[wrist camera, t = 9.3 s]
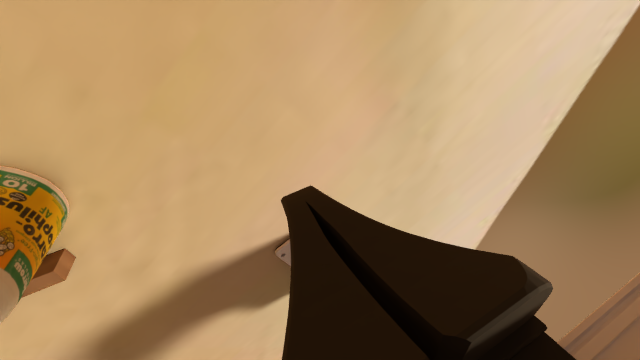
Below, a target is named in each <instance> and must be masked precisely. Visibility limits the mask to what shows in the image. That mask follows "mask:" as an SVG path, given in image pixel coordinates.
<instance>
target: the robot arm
mask: <svg viewBox="0 0 640 360" xmlns="http://www.w3.org/2000/svg"><path fill="white" fill-rule="evenodd" d="M281 202H282V205H283V208H284V211H285V214H286V216H287V220H288V227H289V235H290V239H289V240H288V241H286V242H285V243H284V244H283V245H281V246H280V247H279V248H277V249H276V251H275V254H276V256H277V257H279V258H280V259H281V260H283V261H284V262H285V263H287V264H288V265H289V266H291V283H290V298H289V310H288V319H287V327H286V334H285V342H284V349H283V356H282V360H640V272H639V273H638V274H637V275H636V276H635V277H633V279H631V280H630V281H629V282H627V283H626V284H625V285H624V286H623V287H622V288H621V289H619V290H618V291H617V292H616V293H615V294H614V295H613V296H611V297H610V298H609V299H608V300H607V301H605V302H604V303H603V304H602V305H601V306H599V307H598V308H597V309H596V310H595V311H593V312H592V313H591V314H590V315H589V316H587V317H586V318H585V319H584V320H583V321H582V322H580V323H579V324H578V325H577V326H576V327H574V328H573V329H572V330H571V331H570V332H568V333H567V334H566V335H565V336H564V337H563V338H561V339H560V340H559V341H558V342H555V341H554V340H553V339H552V338H551V337H549V336H548V335H547V334H546V333H545V332H544V331H546V329H547V327H546V325H545V324H544V323H543V322H541V321H540V320H539V319H538V318H537V317H535V316H534V315H535V313H536V312H537V311H538V310H539V308H540V307H541V306H542V304H543V303H544V302H545V301H546V299H547V298H548V297H549V295H550V294H551V292H552V289H553V287H552V284H551V282H549V281H548V280H546V279H545V278H543V277H542V276H541V275H539V274H538V273H537V272H535V271H534V270H532V269H531V268H530V267H528V266H527V265H525V264H524V263H522V262H521V261H519V260H518V259H516V258H515V257H513V256H509V255H503V254H497V253H491V252H485V251H479V250H474V249H468V248H464V247H459V246H455V245H450V244H446V243H442V242H438V241H434V240H431V239H427V238H424V237H420V236H417V235H413V234H410V233H407V232H404V231H401V230H398V229H395V228H393V227H390V226H387V225H385V224H382V223H380V222H377V221H375V220H373V219H371V218H368V217H366V216H364V215H362V214H360V213H358V212H356V211H354V210H352V209H350V208H348V207H346V206H345V205H343V204H341V203H339V202H337V201H336V200H334V199H332V198H330V197H329V196H327V195H326V194H324V193H322V192H321V191H319V190H318V189H316V188H315V187H313V186H308V187H306V188H304V189H301V190H299V191H296V192H294V193H292V194H289V195H287V196H285V197H283V198H282V200H281Z"/></svg>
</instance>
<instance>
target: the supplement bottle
mask: <svg viewBox="0 0 640 360" xmlns="http://www.w3.org/2000/svg"><path fill="white" fill-rule="evenodd" d="M69 211H70V208H69V203H68V201H67V198H66V197H65V195H64V194H63V193H62V191H61V190H60V189H59V188H58V187H56V186H55V185H54V184H52V183H51V182H50V181H48V180H46V179H44V178H42V177H40V176H37V175H35V174H32V173H29V172H27V171H24V170H20V169H17V168H12V167H6V166H0V324H1V323H2V322H3V321H4V320H5V319H6V318H7V317H8V316H9V314H10V313H11V312H12V310H13V309H14V308H15V306H16V305H17V304H18V302H19V300H20V299H21V297H22V295H23V293H24V291H25V289H26V288H27V286H28V285H29V283H30V281H31V279H32V278H33V276H34V274H35V273H36V271H37V269H38V268H39V266H40V265H41V263H42V261H43V260H44V258H45V256H46V254H47V253H48V251H49V249H50V248H51V246H52V245H53V243H54V241H55V239H56V238H57V236H58V235H59V233H60V231H61V229H62V228H63V226H64V224H65V222H66V220H67V218H68V215H69Z"/></svg>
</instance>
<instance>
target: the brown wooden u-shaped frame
mask: <svg viewBox="0 0 640 360" xmlns="http://www.w3.org/2000/svg"><path fill="white" fill-rule="evenodd" d="M75 258H76V257H75V256H73V255H72V254H71V253H70V252H69V251H67V250H66V249H63V250H60V251H57V252H55V253H52V254H49V255H47V256H45V258H44V260H43V261H42V263H41V265H40V266H39V268H38V269H37V271H36V273H35V274H34V276H33V278H32V279H31V281H30V283H29V285H28V286H27V288H26V289H25V291H24V293H23V295H22V297H25V296H27V295H30V294H32V293H35V292H37V291H40V290H42V289H45V288H47V287H50V286H52V285H55V284H57V283H60V282H62V281H65V280H66V278H67V276H68V273H69V271H70V269H71V267H72V265H73V263H74V260H75ZM22 297H21V298H22Z"/></svg>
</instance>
